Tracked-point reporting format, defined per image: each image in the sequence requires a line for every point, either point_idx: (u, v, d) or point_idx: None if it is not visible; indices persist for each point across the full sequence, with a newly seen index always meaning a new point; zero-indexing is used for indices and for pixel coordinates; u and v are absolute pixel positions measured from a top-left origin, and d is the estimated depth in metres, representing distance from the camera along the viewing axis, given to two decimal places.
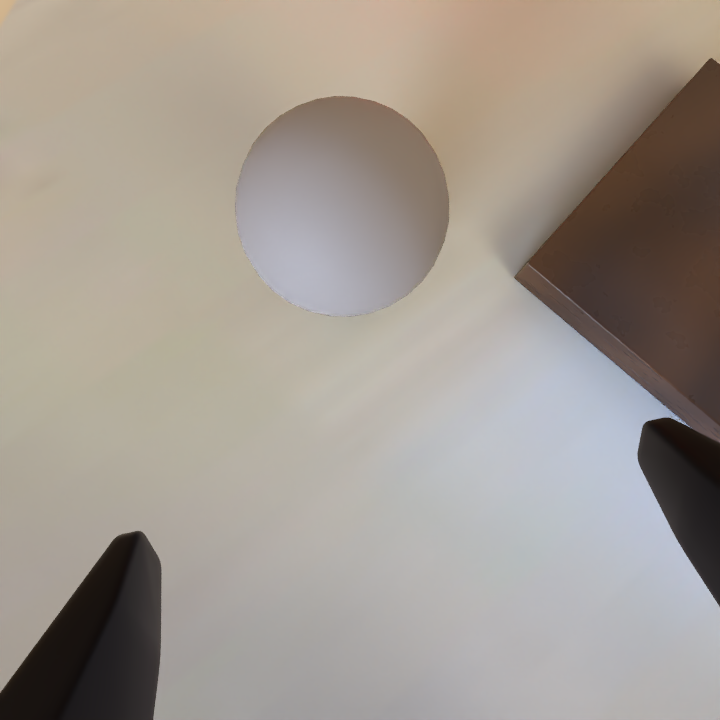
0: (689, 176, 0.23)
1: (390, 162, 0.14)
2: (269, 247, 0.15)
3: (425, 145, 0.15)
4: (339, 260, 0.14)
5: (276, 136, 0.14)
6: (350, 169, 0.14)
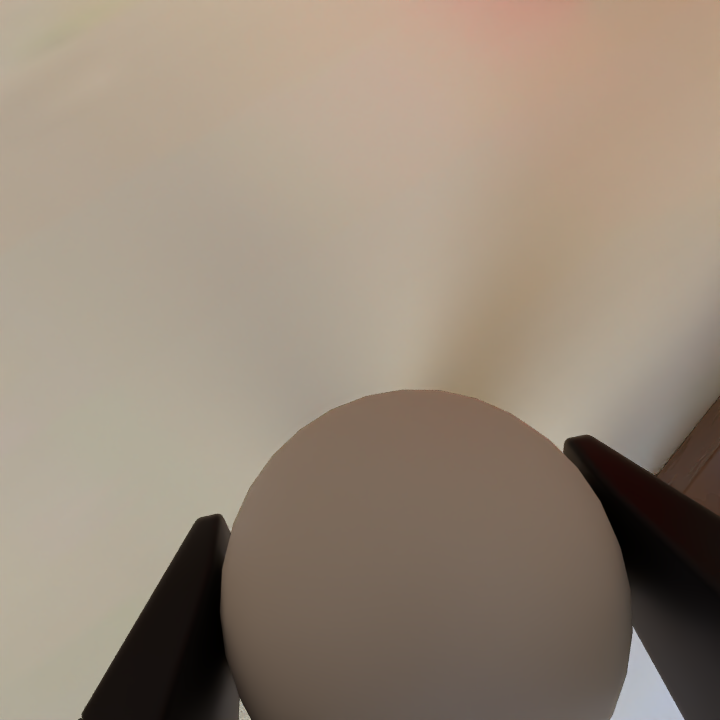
0: None
1: (555, 630, 0.06)
2: None
3: (600, 527, 0.07)
4: None
5: (302, 544, 0.07)
6: (472, 669, 0.06)
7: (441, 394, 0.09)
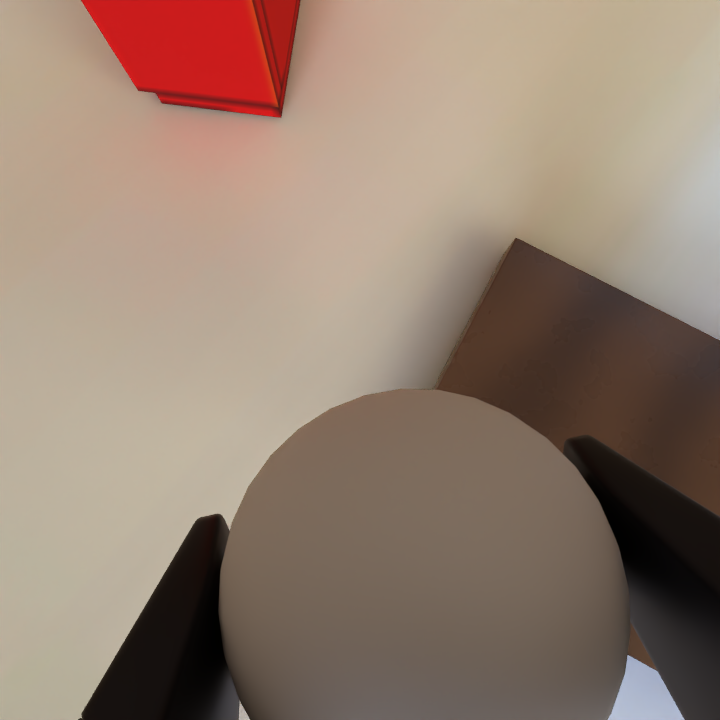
0: (519, 375, 0.22)
1: (553, 629, 0.06)
2: None
3: (598, 527, 0.07)
4: None
5: (300, 543, 0.07)
6: (470, 668, 0.06)
7: (439, 393, 0.09)
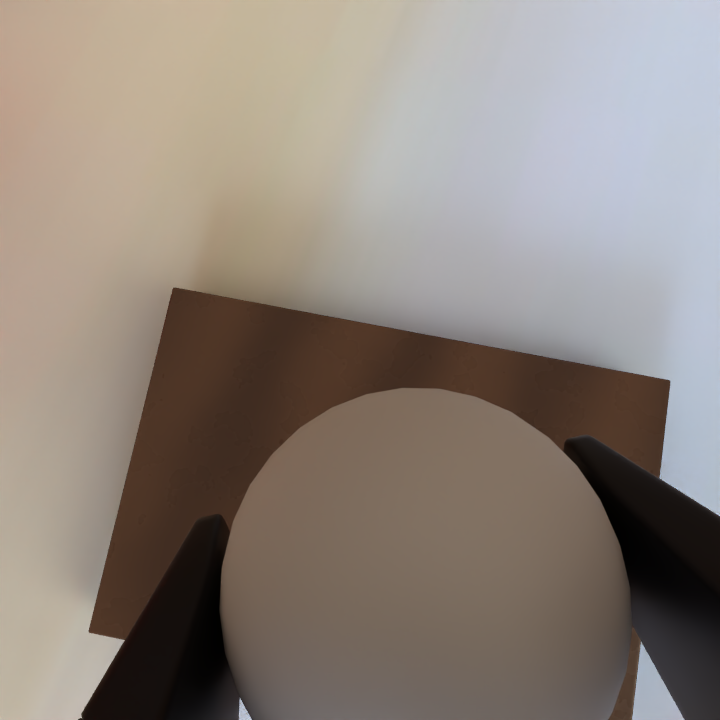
0: (210, 433, 0.20)
1: (554, 627, 0.06)
2: None
3: (599, 525, 0.07)
4: None
5: (302, 542, 0.07)
6: (472, 666, 0.06)
7: (441, 392, 0.09)
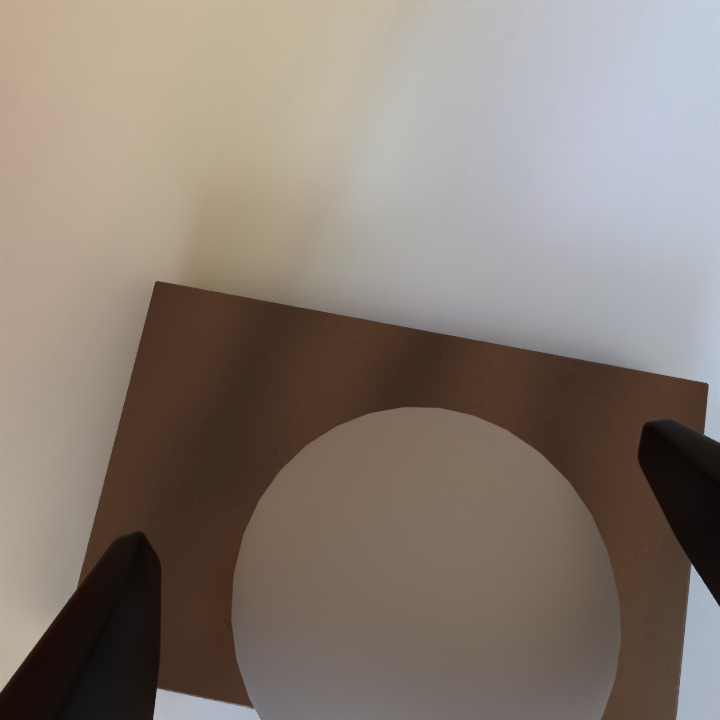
0: (196, 442, 0.18)
1: (545, 638, 0.07)
2: None
3: (590, 541, 0.08)
4: None
5: (310, 556, 0.07)
6: (470, 675, 0.07)
7: (441, 412, 0.09)
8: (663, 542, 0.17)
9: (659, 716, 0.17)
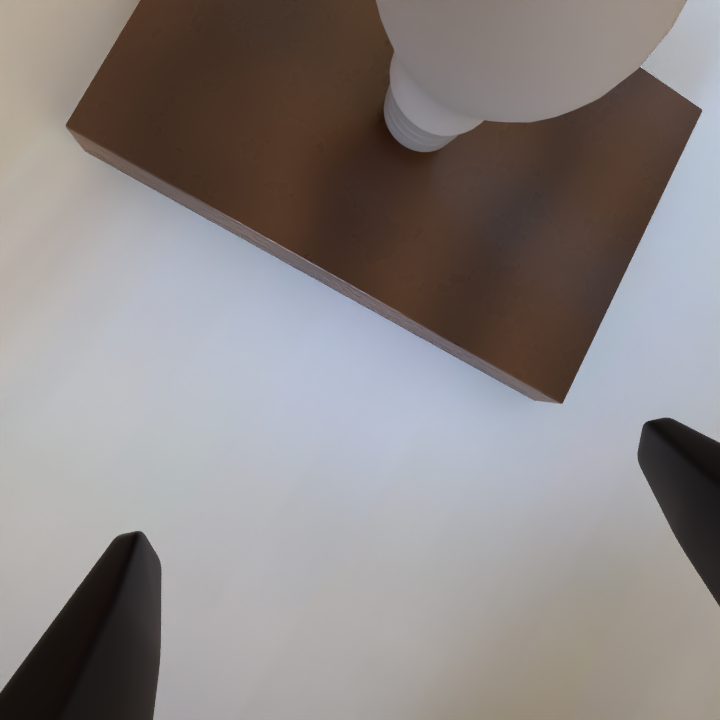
0: None
1: None
2: None
3: None
4: None
5: None
6: None
7: None
8: (625, 217, 0.20)
9: (576, 344, 0.20)
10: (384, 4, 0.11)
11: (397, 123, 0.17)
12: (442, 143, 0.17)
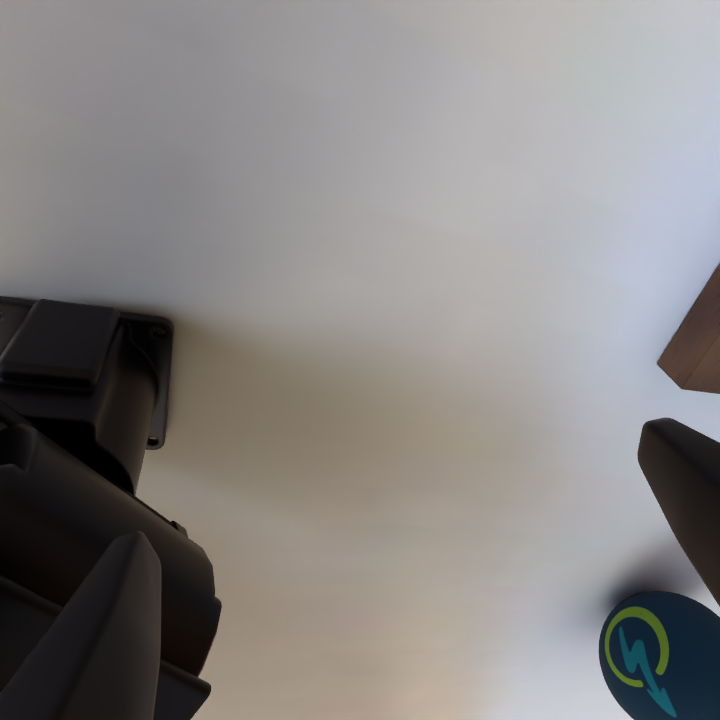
0: None
1: None
2: None
3: None
4: None
5: None
6: None
7: None
8: None
9: None
10: None
11: None
12: None
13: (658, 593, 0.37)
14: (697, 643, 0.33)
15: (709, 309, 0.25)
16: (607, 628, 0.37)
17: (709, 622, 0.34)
